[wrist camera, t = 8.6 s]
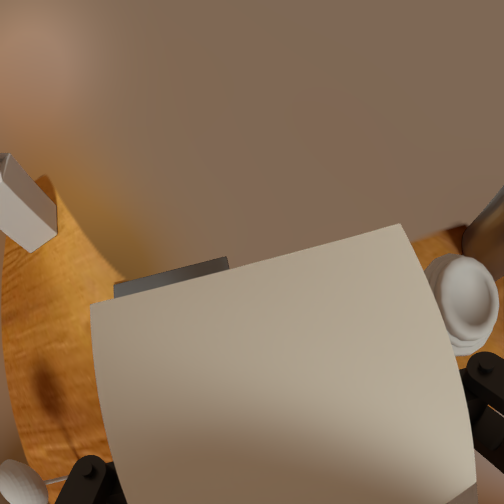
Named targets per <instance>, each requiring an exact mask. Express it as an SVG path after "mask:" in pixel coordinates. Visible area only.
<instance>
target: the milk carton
mask: <svg viewBox="0 0 504 504" xmlns="http://www.w3.org/2000/svg"><path fill="white" fill-rule="evenodd" d="M0 230H2V231H3V232H4V233H5V234H6V235H8V236H9V237H10V238H11V239H13V240H14V241H15V242H17V243H18V244H19V245H20V246H22V247H23V248H24V249H26V250H27V251H28V252H30V253H32V252H33V251H35V250H36V249H37V248H39V247H40V246H42V245H43V244H44V243H46V242H47V241H49V240H50V239H51V238H53V237H54V236H56V235H57V213H56V205H55V204H54V203H53V202H52V200H51V199H50V198H49V197H48V196H47V195H46V194H45V193H44V192H43V191H42V190H41V189H40V188H39V186H38V185H37V184H36V183H35V182H34V181H33V180H32V179H31V177H30V176H29V175H28V174H27V173H26V172H25V171H24V170H23V168H22V167H21V166H20V165H19V164H18V162H17V161H16V160H15V159H14V158H13V156H12V155H11V154H10V153H0Z"/></svg>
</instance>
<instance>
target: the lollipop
mask: <svg viewBox="0 0 504 504" xmlns="http://www.w3.org/2000/svg"><path fill="white" fill-rule="evenodd" d="M68 476H69V475H67V476H63V477H59V478H55V479H50V480H46V481H43V480H42V478H41V477H40V476H39V475H38V473H37V472H35V471H34V470H33V469H32V468H30V467H29V466H27V465H25V464H23V463H20V462H18V461H15V460H6V461H4V462H3V463H2V464H1V465H0V491H1V493H2V494H3V496H4V497H5V498H6V500H7V501H9V502H10V503H11V504H47V502H48V491H47V488H46V484H50V483H54V482H59V481H63V480H66V479H67V478H68Z"/></svg>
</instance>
